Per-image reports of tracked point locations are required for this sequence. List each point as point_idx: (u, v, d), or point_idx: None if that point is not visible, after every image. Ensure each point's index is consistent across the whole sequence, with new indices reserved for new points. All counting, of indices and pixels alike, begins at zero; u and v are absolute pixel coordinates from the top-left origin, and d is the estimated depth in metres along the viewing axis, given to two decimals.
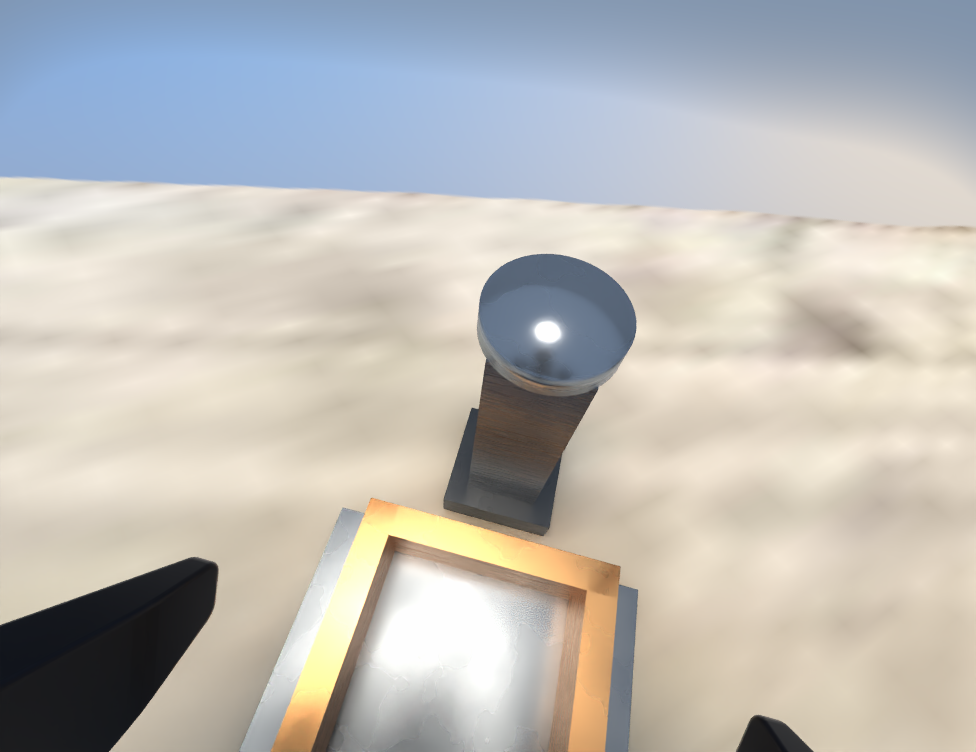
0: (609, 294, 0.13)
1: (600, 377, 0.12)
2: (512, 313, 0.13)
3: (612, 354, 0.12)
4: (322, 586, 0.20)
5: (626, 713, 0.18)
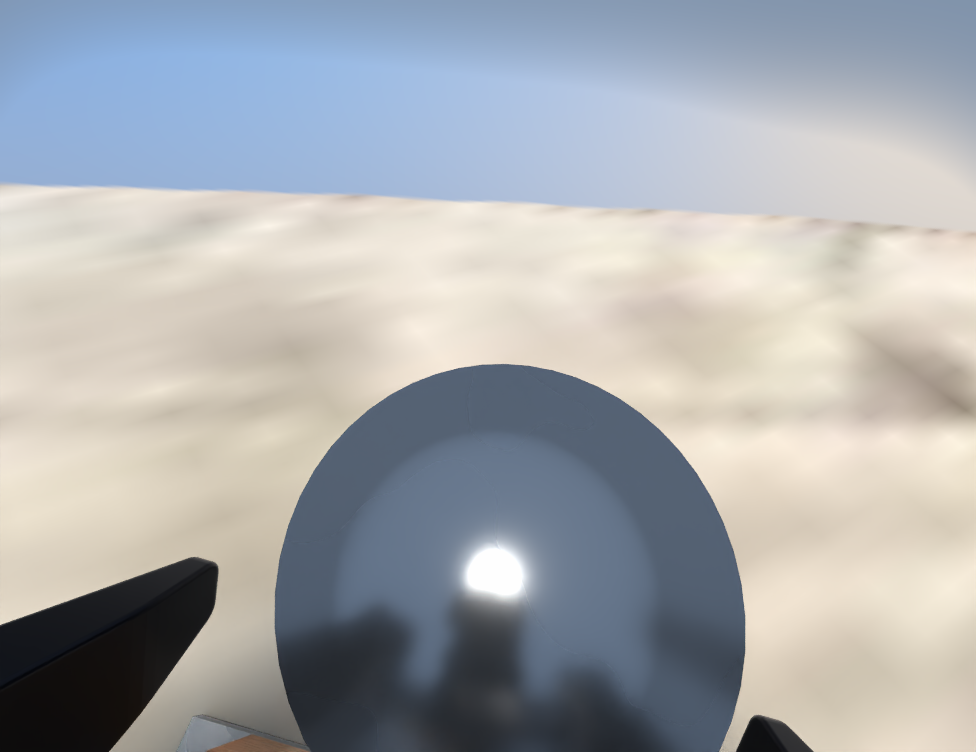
0: (657, 486, 0.05)
1: None
2: (378, 579, 0.04)
3: (684, 740, 0.04)
4: None
5: None
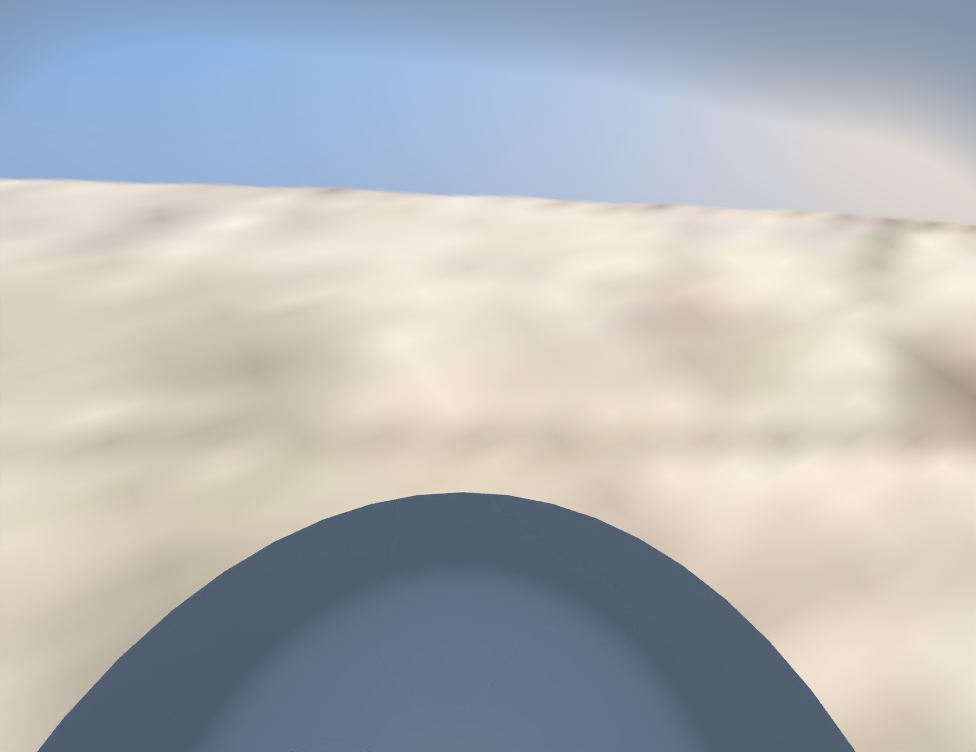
0: None
1: None
2: None
3: None
4: None
5: None
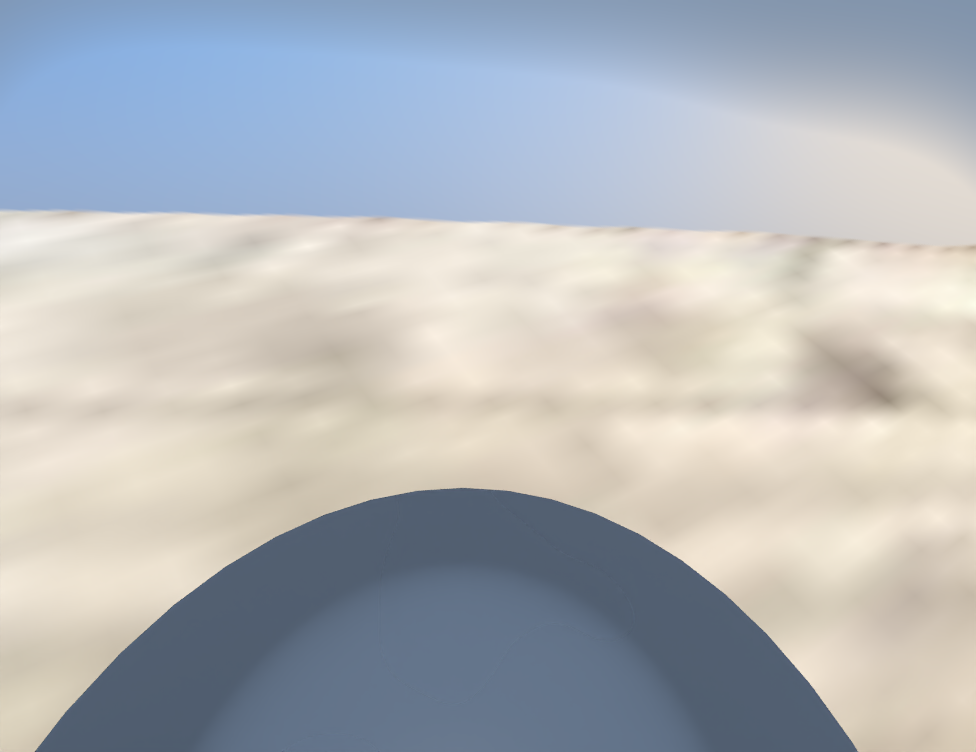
0: None
1: None
2: None
3: None
4: None
5: None
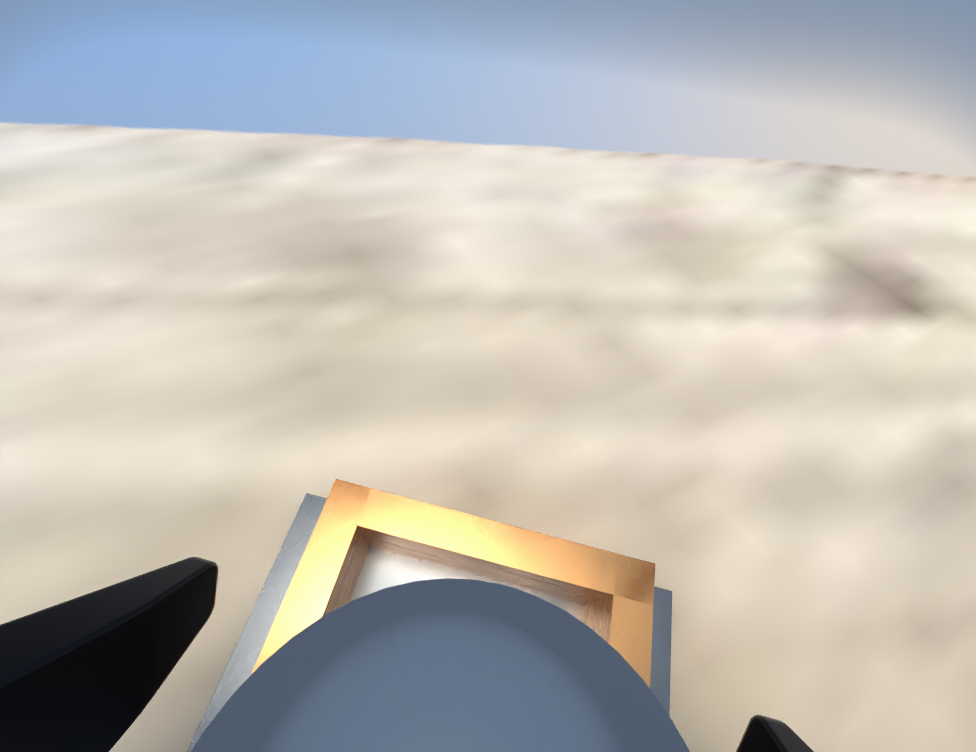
0: None
1: None
2: None
3: None
4: (278, 591, 0.16)
5: None
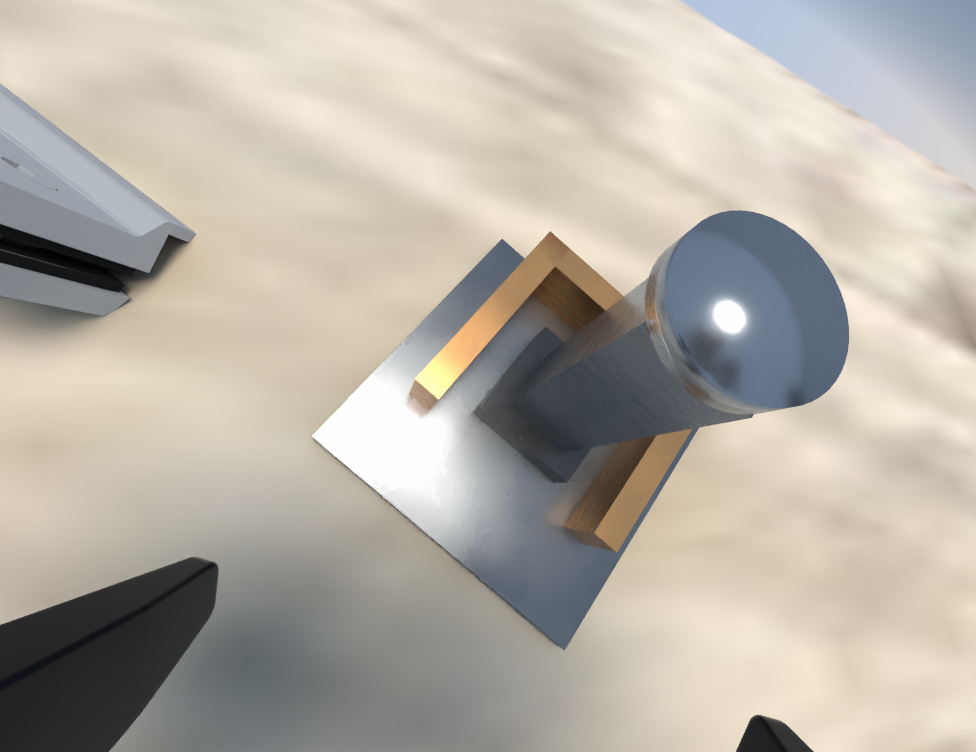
0: (828, 311, 0.10)
1: (769, 410, 0.10)
2: (711, 283, 0.10)
3: (802, 392, 0.09)
4: (468, 289, 0.22)
5: (659, 487, 0.22)
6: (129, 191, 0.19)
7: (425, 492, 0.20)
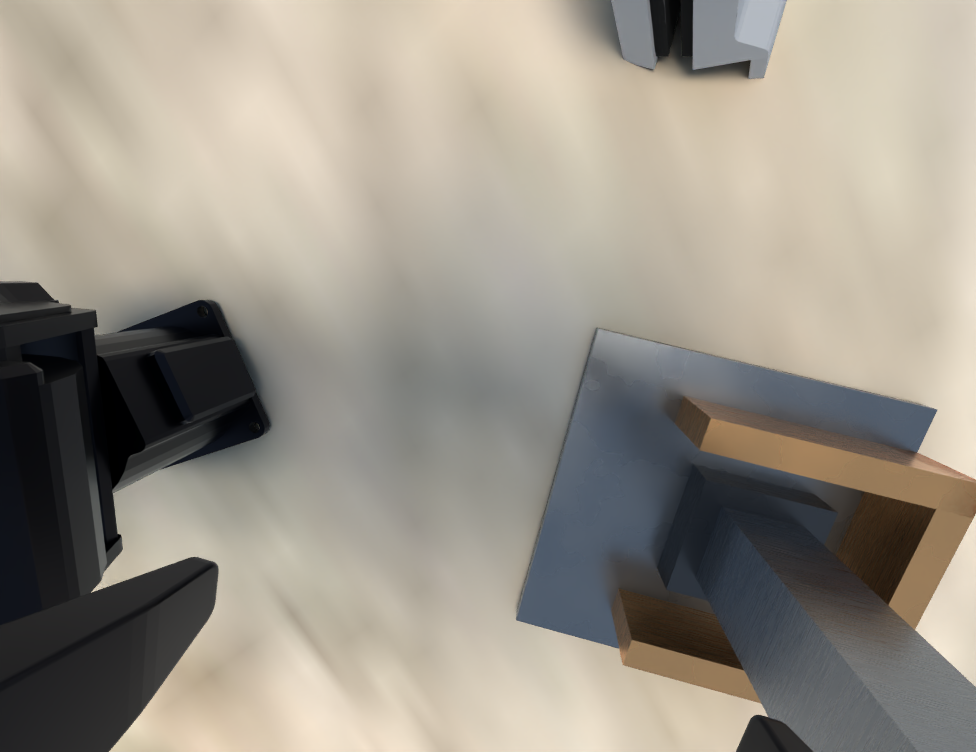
0: None
1: None
2: None
3: None
4: (842, 401, 0.18)
5: None
6: None
7: (593, 454, 0.19)
